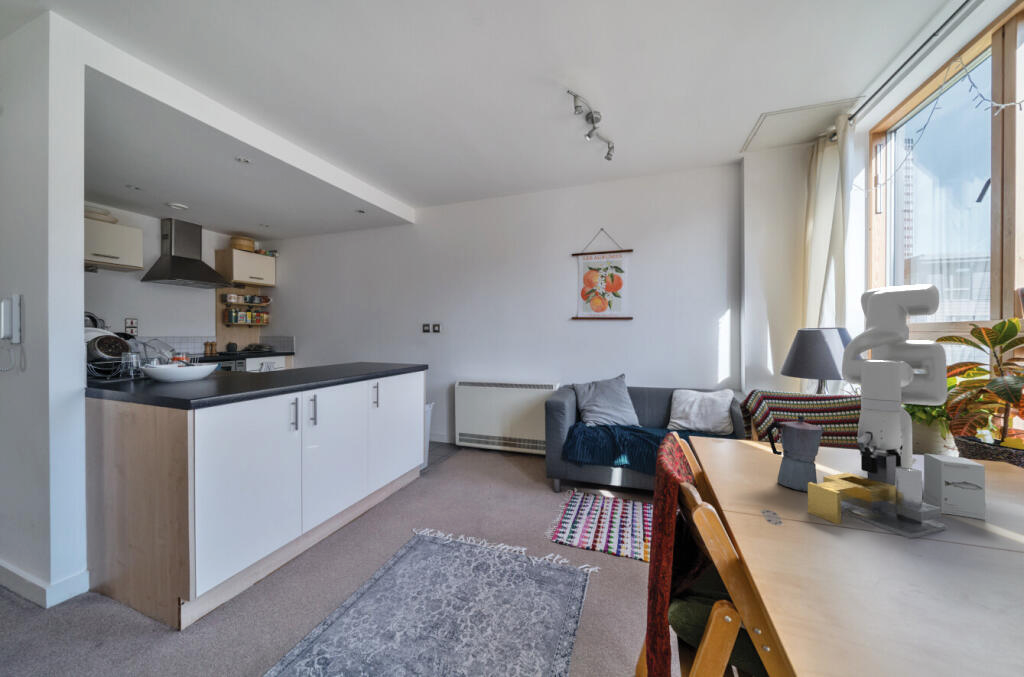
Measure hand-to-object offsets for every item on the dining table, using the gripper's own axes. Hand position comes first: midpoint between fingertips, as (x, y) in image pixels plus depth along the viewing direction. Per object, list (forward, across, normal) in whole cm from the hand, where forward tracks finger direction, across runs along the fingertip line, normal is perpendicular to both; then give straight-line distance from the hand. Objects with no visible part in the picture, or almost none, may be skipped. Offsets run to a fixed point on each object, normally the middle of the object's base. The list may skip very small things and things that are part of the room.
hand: (881, 470), depth 95 cm
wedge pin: (+7, -1, 0) cm, 7 cm away
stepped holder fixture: (+7, +19, +7) cm, 21 cm away
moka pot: (+7, +15, -11) cm, 20 cm away
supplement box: (+7, -6, +11) cm, 14 cm away
